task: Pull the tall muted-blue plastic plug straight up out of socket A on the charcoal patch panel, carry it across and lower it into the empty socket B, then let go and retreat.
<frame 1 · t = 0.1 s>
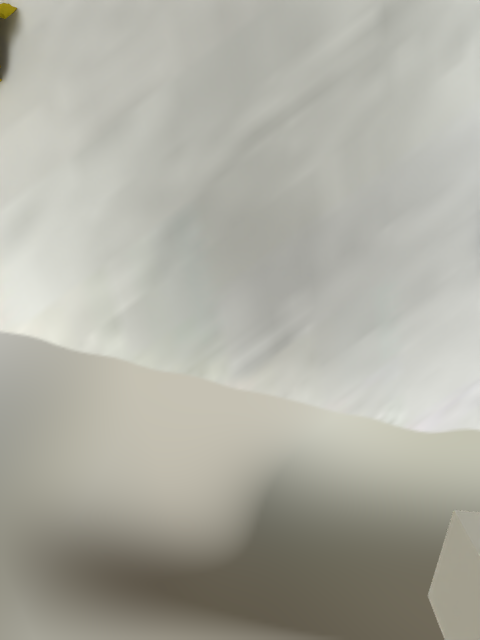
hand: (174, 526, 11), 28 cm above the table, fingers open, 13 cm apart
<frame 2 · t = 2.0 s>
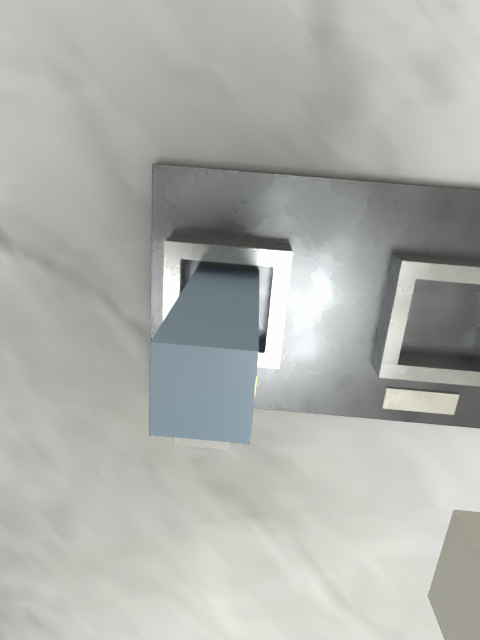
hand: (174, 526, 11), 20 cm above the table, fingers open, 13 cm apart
panel: (330, 303, 30), on the table
plug: (226, 298, 29), point 1 cm above the table, touching panel
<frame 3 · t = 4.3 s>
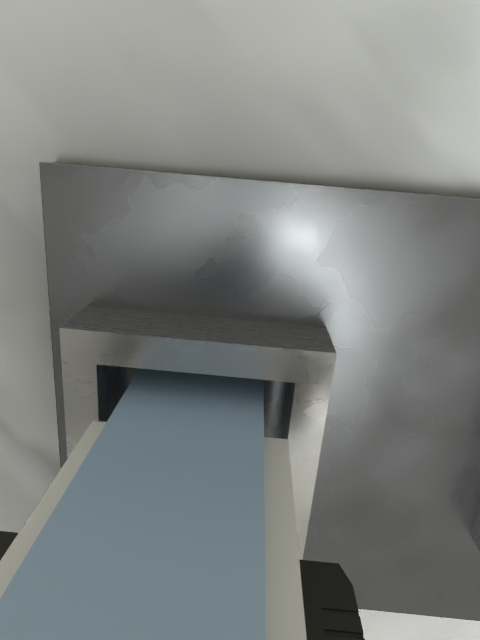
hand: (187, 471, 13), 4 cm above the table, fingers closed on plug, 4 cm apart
panel: (396, 423, 16), on the table
plug: (199, 420, 15), point 1 cm above the table, touching gripper, panel
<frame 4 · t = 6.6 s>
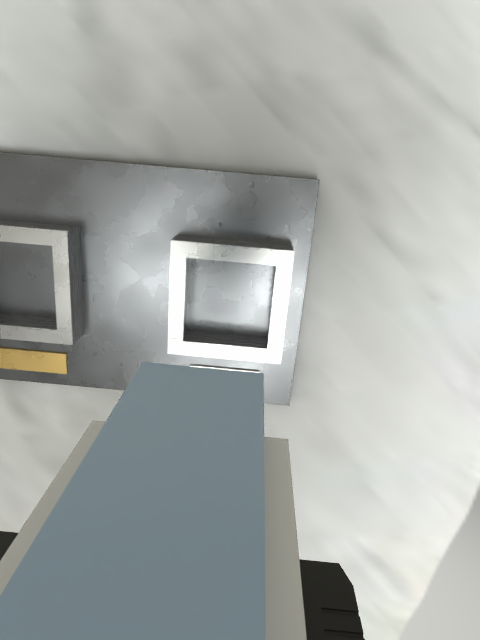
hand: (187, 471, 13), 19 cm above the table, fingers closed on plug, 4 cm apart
panel: (132, 283, 31), on the table
plug: (199, 420, 15), point 17 cm above the table, touching gripper
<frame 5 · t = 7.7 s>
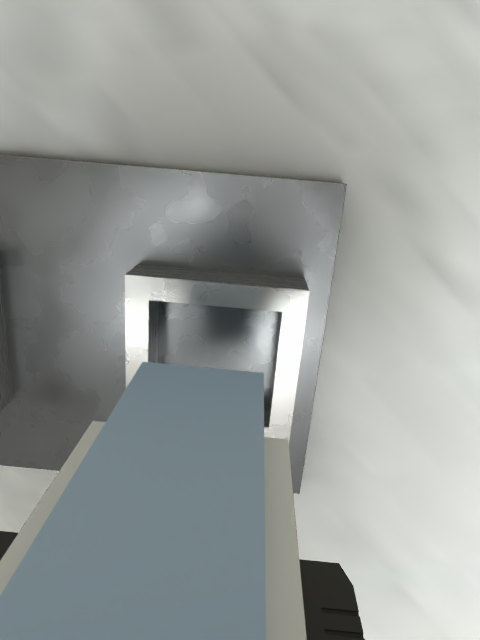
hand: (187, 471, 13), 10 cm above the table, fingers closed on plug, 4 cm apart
panel: (79, 328, 22), on the table
plug: (200, 419, 15), point 7 cm above the table, touching gripper
when the fingers open (5 cm above the table, at t = 8.9 s): plug drops 1 cm, resting on panel.
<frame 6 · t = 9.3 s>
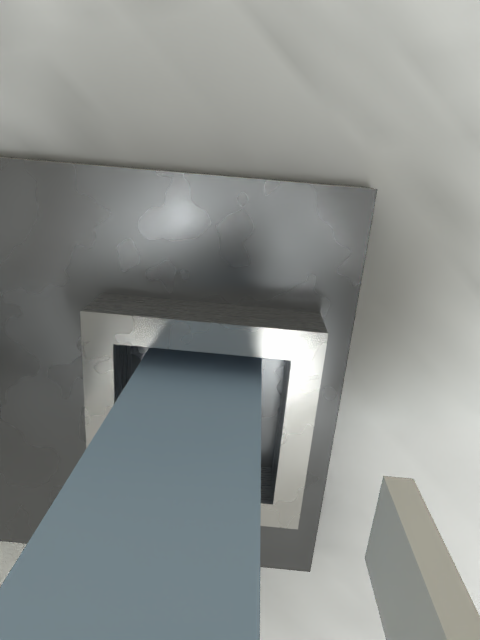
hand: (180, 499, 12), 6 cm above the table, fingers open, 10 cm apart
panel: (34, 370, 18), on the table
plug: (203, 398, 17), point 1 cm above the table, touching panel
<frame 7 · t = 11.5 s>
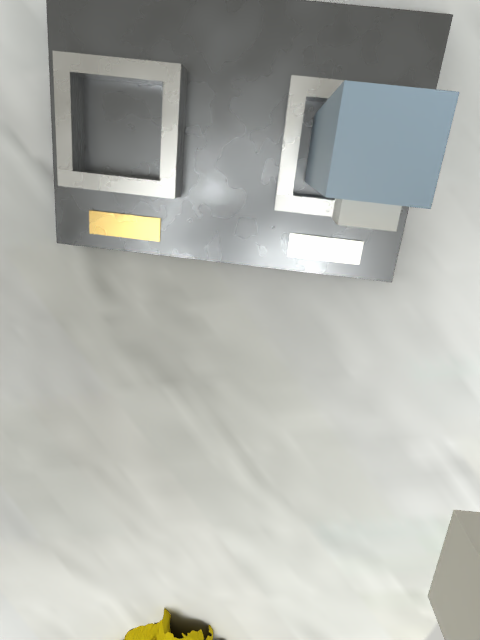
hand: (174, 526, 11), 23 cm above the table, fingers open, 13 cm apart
panel: (234, 142, 30), on the table
plug: (340, 152, 28), point 1 cm above the table, touching panel
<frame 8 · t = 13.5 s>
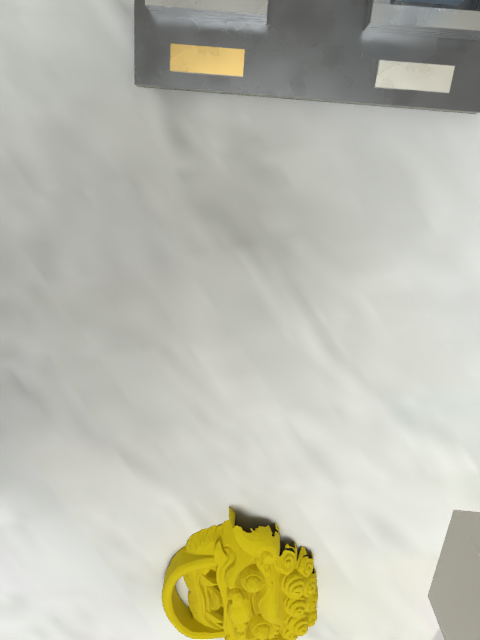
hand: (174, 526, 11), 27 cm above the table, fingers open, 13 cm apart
door knocker: (241, 579, 48), on the table
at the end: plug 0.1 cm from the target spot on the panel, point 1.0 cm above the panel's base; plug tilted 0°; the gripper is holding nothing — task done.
